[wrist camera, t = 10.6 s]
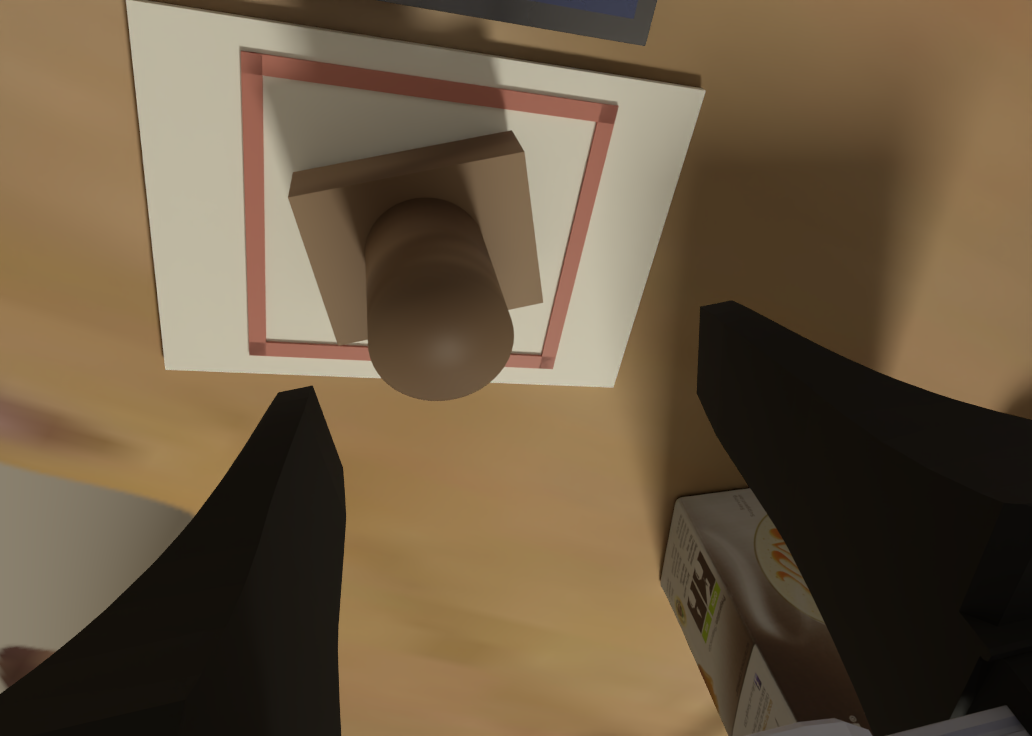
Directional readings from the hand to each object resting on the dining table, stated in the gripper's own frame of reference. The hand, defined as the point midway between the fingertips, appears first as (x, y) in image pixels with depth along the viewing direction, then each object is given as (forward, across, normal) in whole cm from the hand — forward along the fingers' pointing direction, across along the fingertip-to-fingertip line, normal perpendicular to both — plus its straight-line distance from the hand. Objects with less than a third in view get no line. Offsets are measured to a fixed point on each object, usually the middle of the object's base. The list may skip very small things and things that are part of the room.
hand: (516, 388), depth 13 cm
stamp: (+10, +1, 0) cm, 10 cm away
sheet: (+10, +1, +1) cm, 10 cm away
